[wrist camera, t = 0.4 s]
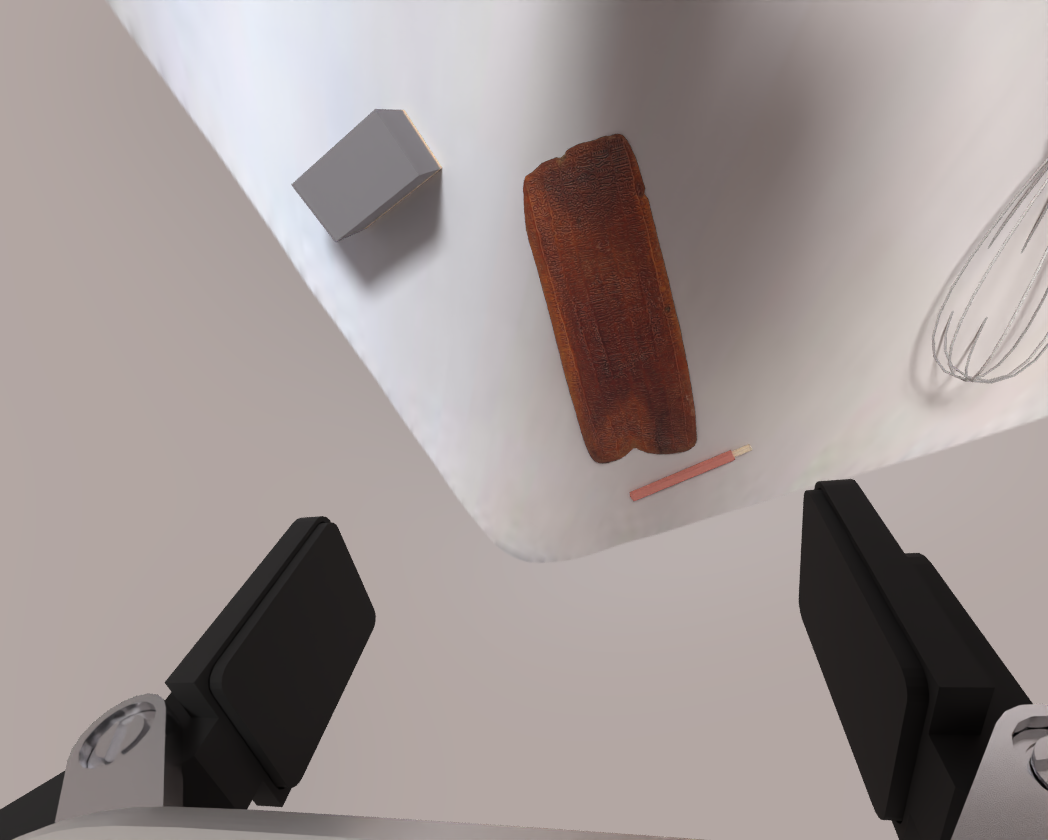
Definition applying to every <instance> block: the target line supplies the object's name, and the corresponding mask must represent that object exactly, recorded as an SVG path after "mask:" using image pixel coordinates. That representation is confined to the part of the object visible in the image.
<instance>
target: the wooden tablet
mask: <svg viewBox="0 0 1048 840" xmlns="http://www.w3.org/2000/svg"><path fill="white" fill-rule="evenodd" d="M644 191H645V187H644V184H643V181H642V177H641V174H640V170H639V167H638V164H637V161H636V158H635V156H634V153H633V151H632V149H631V147H630V145H629V143H628V141H627V140H626V139H625V137H624V136H622V135H620V134H615V135H612V136H604V137H601V138H599V139H597V140H594V141H590V142H585V143H581V144H578V145H576V146H574V147H572V148H570V149H568V150H567V151H566V153H565V155H563V156H562V157H561V158H557V157H556V158H554V159H551V160H548V161H546V162H544V163H541V164H540V165H539V166H538V167H537V168H536V169H535V170H534V171H533V172H532V173H530V174H528V175H527V176H526V177H525V180H524V186H523V193H524V213H525V223H526V231H527V235H528V239H529V243H530V246H531V249H532V252H533V256H534V260H535V263H536V266H537V269H538V273H539V277H540V281H541V284H542V288H543V292H544V295H545V299H546V302H547V306H548V310H549V314H550V317H551V321H552V325H553V330H554V334H555V338H556V341H557V345H558V349H559V353H560V356H561V361H562V364H563V369H564V373H565V376H566V380H567V383H568V386H569V390H570V394H571V398H572V400H573V404H574V407H575V411H576V414H577V418H578V421H579V425H580V428H581V433H582V435H583V438H584V441H585V444H586V447H587V449H588V451H589V453H590V455H591V457H592V459H593V460H595V461H596V462H598V463H609V462H611V461H616V460H618V459H621V458H622V457H624V456H626V455H627V454H628V453H629V452H630V451H631V450H632V449H633V448H637V449H639V450H642V451H644V452H647V453H654V454H673V453H678V452H684V451H687V450H689V449H691V447H693V446H695V443H696V440H697V434H696V420H695V409H694V402H693V395H692V388H691V383H690V377H689V371H688V365H687V361H686V356H685V351H684V346H683V342H682V336H681V331H680V327H679V323H678V319H677V315H676V311H675V307H674V303H673V299H672V294H671V290H670V285H669V281H668V277H667V273H666V269H665V265H664V261H663V257H662V253H661V249H660V245H659V242H658V238H657V233H656V229H655V225H654V222H653V218H652V213H651V209H650V205H649V201H648V198H647V197H646V196H645V194H644Z"/></svg>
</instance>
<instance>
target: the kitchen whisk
mask: <svg viewBox="0 0 1048 840" xmlns="http://www.w3.org/2000/svg"><path fill="white" fill-rule="evenodd" d="M1047 162H1048V158H1047V159H1046V161H1045V162H1044V163H1043V164H1042V165H1041V166H1040V167H1039V169H1038V170H1037V171H1036V172H1035V173H1034V175H1033V176H1032V177H1031V178H1030V179H1029V181H1028V182H1027V183H1026V184H1025V185H1024V187H1023V188H1022V189H1021V190H1020V191H1019V193H1018V194H1017V195H1016V196H1015V197H1014V199H1013V200H1012V201H1011V202H1010V204H1009V205H1008V206H1007V208H1006V209H1005V210H1004V211H1003V213H1002V214H1001V215H1000V217H999V218H998V219H997V220H996V222H995V223H994V224H993V226H992V227H991V228H990V229H989V231H988V232H987V234H986V235H985V236H984V238H983V239H982V241H981V242H980V244H979V245H978V246H977V248H976V249H975V251H974V252H973V253H972V255H971V256H970V258H969V259H968V261H967V262H966V264H965V266H964V267H963V269H962V270H961V272H960V274H959V275H958V277H957V279H956V280H955V282H954V283H953V285H952V287H951V288H950V290H949V293H948V295H947V297H946V299H945V301H944V303H943V305H942V307H941V309H940V311H939V314H938V317H937V320H936V324H935V328H934V331H933V335H932V347H933V357H934V359H935V360H936V362H937V363H938V364H939V366H940V367H941V369H942V370H943V371H944V372H945V373H948V374H950V375H952V376H954V377H956V378H959V379H961V380H963V381H966V382H980V383H994V382H998V381H1001V380H1004V379H1007V378H1011V377H1014V376H1016V375H1017V374H1019V373H1020V372H1022V371H1023V370H1024V369H1026V368H1027V367H1028V366H1030V365H1031V364H1033V363H1034V362H1035V361H1036V360H1037V359H1038V358H1039V357H1040V356H1041V354H1042V353H1043V352H1044V351H1045V350H1046V348H1047V347H1048V344H1047V345H1046V346H1045V347H1044V348H1043V350H1042V351H1041V352H1040V353H1039V355H1038V356H1037V357H1036V358H1035V359H1034V360H1033V361H1032V362H1030V363H1029V364H1028V365H1026V366H1025V367H1024V368H1022V369H1021V370H1019V371H1018V372H1017V373H1015V374H1014V375H1011V374H1013V373H1014V372H1015V371H1017V370H1018V369H1019V368H1021V367H1022V366H1023V365H1025V364H1026V363H1027V362H1029V360H1030V359H1031V358H1032V357H1033V355H1034V354H1035V353H1036V352H1037V351H1038V349H1039V348H1040V347H1041V346H1042V344H1043V343H1044V342H1045V341H1046V339H1047V338H1048V333H1047V334H1046V336H1045V338H1044V339H1043V340H1042V342H1041V343H1040V344H1039V345H1038V347H1037V348H1036V349H1035V350H1034V352H1033V353H1032V354H1031V355H1030V357H1029V358H1028V359H1027V360H1026V361H1025V362H1024V363H1022V364H1021V365H1020V366H1018V367H1017V368H1016V369H1014V370H1013V371H1012V372H1011V373H1009V374H1008V375H1004V376H1001V377H997V378H994V379H990V380H986V379H980V378H979V377H983V376H985V375H986V374H988V373H989V372H991V371H992V370H994V369H995V368H997V367H998V366H999V365H1000V364H1001V363H1002V362H1003V361H1004V360H1005V359H1006V358H1007V357H1008V355H1009V354H1010V353H1011V352H1012V351H1013V350H1014V349H1015V347H1016V346H1017V344H1018V343H1019V342H1020V340H1021V339H1022V337H1023V336H1024V334H1025V333H1026V331H1027V330H1028V328H1029V327H1030V325H1031V323H1032V321H1033V320H1034V318H1035V316H1036V314H1037V312H1038V311H1039V309H1040V307H1041V305H1042V303H1043V302H1044V299H1045V297H1046V295H1047V293H1048V288H1047V290H1046V292H1045V294H1044V296H1043V298H1042V300H1041V302H1040V304H1039V306H1038V307H1037V309H1036V311H1035V313H1034V315H1033V316H1032V318H1031V320H1030V322H1029V324H1028V326H1027V327H1026V329H1025V330H1024V332H1023V333H1022V335H1021V336H1020V338H1019V339H1018V340H1017V342H1016V343H1015V345H1014V346H1013V348H1012V349H1011V350H1010V351H1009V352H1008V353H1007V355H1006V356H1005V357H1004V358H1003V359H1002V360H1001V361H1000V362H999V363H998V364H997V365H996V366H995V367H993V368H992V369H990V370H989V371H987V372H986V373H984V374H983V375H980V376H978V375H979V374H980V373H981V372H982V371H983V369H984V368H985V366H986V365H987V364H988V362H989V361H990V359H991V358H992V357H993V355H994V353H995V351H996V350H997V348H998V346H999V345H1000V343H1001V341H1002V340H1003V338H1004V336H1005V335H1006V333H1007V331H1008V329H1009V327H1010V325H1011V324H1012V322H1013V320H1014V318H1015V316H1016V314H1017V312H1018V311H1019V309H1020V307H1021V305H1022V303H1023V301H1024V299H1025V297H1026V295H1027V293H1028V291H1029V289H1030V287H1031V285H1032V283H1033V281H1034V279H1035V277H1036V275H1037V273H1038V271H1039V269H1040V267H1041V265H1042V263H1043V261H1044V259H1045V257H1046V255H1047V253H1048V247H1047V249H1046V251H1045V253H1044V255H1043V257H1042V259H1041V261H1040V263H1039V265H1038V267H1037V270H1036V272H1035V274H1034V276H1033V278H1032V280H1031V282H1030V284H1029V285H1028V287H1027V289H1026V291H1025V293H1024V295H1023V297H1022V299H1021V301H1020V303H1019V305H1018V307H1017V309H1016V311H1015V313H1014V315H1013V316H1012V318H1011V320H1010V322H1009V324H1008V326H1007V328H1006V330H1005V331H1004V333H1003V335H1002V337H1001V338H1000V340H999V342H998V343H997V345H996V347H995V348H994V350H993V352H992V354H991V355H990V357H989V358H988V360H987V361H986V362H985V364H984V365H983V367H982V368H981V370H980V371H979V372H978V373H977V374H976V375H975V376H974V377H969V376H968V372H967V368H968V364H969V361H970V357H971V354H972V351H973V349H974V346H975V344H976V341H977V339H978V337H979V334H980V332H981V330H982V328H983V326H984V324H985V322H986V320H987V317H986V318H985V320H984V321H983V323H982V325H981V327H980V329H979V332H978V334H977V336H976V338H975V341H974V343H973V346H972V348H971V351H970V353H969V356H968V360H967V363H966V367H965V374H964V373H963V372H961V371H960V370H958V369H957V368H956V367H954V366H953V365H952V363H951V354H952V347H953V344H954V341H955V339H956V336H957V333H958V330H959V328H960V325H961V323H962V321H963V319H964V317H965V315H966V313H967V311H968V309H969V307H970V305H971V303H972V301H973V299H974V297H975V295H976V293H977V291H978V290H979V288H980V286H981V284H982V283H983V281H984V279H985V277H986V276H987V274H988V272H989V271H990V269H991V267H992V265H993V264H994V262H995V261H996V259H997V257H998V256H999V254H1000V253H1001V251H1002V250H1003V248H1004V246H1005V245H1006V243H1007V242H1008V240H1009V239H1010V237H1011V235H1012V234H1013V232H1014V231H1015V229H1016V228H1017V226H1018V225H1019V223H1020V222H1021V220H1022V219H1023V217H1024V216H1025V214H1026V213H1027V212H1028V210H1029V209H1030V207H1031V206H1032V204H1033V203H1034V201H1035V200H1036V198H1037V197H1038V195H1039V194H1040V193H1041V191H1042V190H1043V188H1044V187H1045V185H1046V184H1047V183H1048V178H1047V180H1046V181H1045V183H1044V184H1043V185H1042V187H1041V188H1040V190H1039V191H1038V193H1037V194H1036V195H1035V197H1034V198H1033V200H1032V201H1031V203H1030V204H1029V206H1028V207H1027V209H1026V210H1025V212H1024V213H1023V215H1022V216H1021V218H1020V219H1019V221H1018V222H1017V223H1016V225H1015V226H1014V228H1013V229H1012V231H1011V232H1010V234H1009V236H1008V237H1007V239H1006V240H1005V242H1004V243H1003V245H1002V247H1001V248H1000V250H999V251H998V253H997V255H996V256H995V258H994V259H993V261H992V262H991V264H990V266H989V267H988V269H987V271H986V273H985V274H984V276H983V278H982V280H981V281H980V283H979V285H978V287H977V288H976V290H975V292H974V293H973V295H972V297H971V299H970V301H969V303H968V305H967V307H966V309H965V311H964V313H963V315H962V317H961V319H960V321H959V324H958V326H957V329H956V332H955V334H954V337H953V340H952V343H951V345H950V352H949V356H948V353H947V351H946V344H947V330H948V327H949V324H950V321H951V318H952V315H953V311H952V313H951V315H950V317H949V320H948V323H947V327H946V330H945V340H944V352H945V354H946V357H947V359H948V366H949V368H950V371H951V373H950V372H948V371H946V370H945V369H944V368H943V366H942V365H941V363H940V362H939V361H938V359H937V358H936V356H935V343H934V336H935V332H936V329H937V325H938V321H939V318H940V314H941V312H942V310H943V308H944V306H945V304H946V302H947V300H948V298H949V296H950V293H951V291H952V289H953V288H954V286H955V284H956V283H957V281H958V279H959V278H960V276H961V275H962V273H963V271H964V270H965V268H966V266H967V265H968V263H969V262H970V260H971V259H972V257H973V256H974V254H975V253H976V252H977V250H978V249H979V247H980V246H981V245H982V243H983V242H984V240H985V239H986V238H987V236H988V235H989V233H990V232H991V230H992V229H993V228H994V227H995V225H996V224H997V223H998V221H999V220H1000V219H1001V218H1002V216H1003V215H1004V214H1005V213H1006V211H1007V210H1008V209H1009V207H1010V206H1011V205H1012V204H1013V202H1014V201H1015V200H1016V199H1017V197H1018V196H1019V195H1020V194H1021V193H1022V191H1023V190H1024V189H1025V188H1026V187H1027V185H1028V184H1029V183H1030V182H1031V181H1032V179H1033V178H1034V177H1035V176H1036V175H1037V173H1038V172H1039V171H1040V170H1041V169H1042V167H1043V166H1044V165H1045V164H1046V163H1047ZM1047 169H1048V166H1047V167H1046V168H1045V169H1044V171H1043V172H1042V173H1041V175H1040V176H1039V177H1038V178H1037V180H1036V181H1035V182H1034V184H1033V185H1032V186H1031V187H1030V189H1029V190H1028V191H1027V193H1026V194H1025V195H1024V196H1023V198H1022V199H1021V200H1020V202H1019V203H1018V204H1017V206H1016V207H1015V209H1014V210H1013V211H1012V213H1011V214H1010V215H1009V217H1008V218H1007V219H1006V221H1005V222H1004V224H1003V225H1002V226H1001V228H1000V229H999V230H998V232H997V233H996V235H995V237H994V238H993V240H992V241H991V243H990V245H989V247H990V246H991V245H992V243H993V242H994V240H995V239H996V237H997V236H998V234H999V233H1000V231H1001V230H1002V229H1003V227H1004V226H1005V224H1006V223H1007V222H1008V220H1009V219H1010V218H1011V216H1012V215H1013V214H1014V212H1015V211H1016V210H1017V208H1018V207H1019V205H1020V204H1021V203H1022V201H1023V200H1024V199H1025V197H1026V196H1027V195H1028V194H1029V192H1030V191H1031V190H1032V189H1033V187H1034V186H1035V185H1036V183H1037V182H1038V181H1039V180H1040V178H1041V177H1042V176H1043V174H1044V173H1045V172H1046V171H1047ZM1047 209H1048V204H1047V206H1046V207H1045V209H1044V211H1043V213H1042V214H1041V216H1040V218H1039V220H1038V221H1037V223H1036V225H1035V227H1034V228H1033V230H1032V232H1031V234H1030V235H1029V237H1028V239H1027V241H1026V243H1025V245H1024V247H1023V249H1022V252H1023V250H1024V249H1025V247H1026V245H1027V243H1028V242H1029V240H1030V238H1031V236H1032V235H1033V233H1034V231H1035V229H1036V228H1037V226H1038V224H1039V222H1040V221H1041V219H1042V217H1043V216H1044V214H1045V212H1046V210H1047ZM989 247H988V248H989ZM1022 252H1021V253H1022ZM952 368H954V369H955V370H956V371H958V372H959V373H961V374H962V375H964V376H965V377H966V378H963V377H960V376H957V375H955V374H954V372H953V369H952ZM1010 375H1011V376H1010ZM974 379H976V380H974ZM997 379H998V380H997ZM977 380H981V381H977ZM993 380H995V381H993Z"/></svg>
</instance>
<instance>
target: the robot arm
mask: <svg viewBox="0 0 1048 840" xmlns="http://www.w3.org/2000/svg"><path fill="white" fill-rule="evenodd" d="M802 524H803V525H802V544H801V563H800V564H801V565H800V584H799V607H800V613H801V616H802V620H803V623H804V625H805V628H806V631H807V633H808V636H809V638H810V641H811V644H812V646H813V649H814V652H815V654H816V657H817V660H818V662H819V665H820V668H821V670H822V673H823V675H824V678H825V681H826V683H827V686H828V689H829V691H830V694H831V696H832V699H833V702H834V705H835V707H836V709H837V712H838V715H839V718H840V720H841V723H842V725H843V728H844V731H845V734H846V736H847V739H848V741H849V744H850V746H851V749H852V752H853V755H854V757H855V760H856V763H857V765H858V768H859V771H860V773H861V775H862V778H863V781H864V783H865V786H866V789H867V792H868V794H869V797H870V800H871V802H872V805H873V807H874V809H875V812H876V814H877V815H878V817H879V818H880V819H881V820H892V823H893V825H894V827H895V830H896V833H897V835H898V838H899V840H1048V705H1045V704H1033V703H1032V702H1031V701H1030V699H1029V698H1028V697H1027V695H1026V694H1025V692H1024V691H1023V690H1022V688H1021V687H1020V685H1019V684H1018V683H1017V681H1016V680H1015V678H1014V677H1013V676H1012V674H1011V673H1010V672H1009V670H1008V669H1007V667H1006V666H1005V665H1004V663H1003V662H1002V661H1001V659H1000V658H999V657H998V655H997V654H996V652H995V651H994V649H993V648H992V647H991V645H990V644H989V642H988V641H987V640H986V638H985V637H984V635H983V634H982V633H981V631H980V630H979V629H978V627H977V626H976V624H975V623H974V622H973V620H972V619H971V617H970V616H969V615H968V613H967V612H966V610H965V609H964V608H963V606H962V605H961V604H960V602H959V601H958V600H957V598H956V597H955V595H954V594H953V592H952V591H951V590H950V589H949V587H948V586H947V584H946V583H945V581H944V580H943V579H942V577H941V576H940V574H939V573H938V572H937V570H936V569H935V567H934V566H933V565H932V563H931V562H930V561H929V560H928V559H927V558H926V557H925V556H924V555H922V554H920V553H907V554H905V553H904V552H903V550H902V549H901V548H900V546H899V544H898V543H897V541H896V540H895V539H894V537H893V536H892V534H891V533H890V531H889V530H888V528H887V527H886V525H885V524H884V522H883V521H882V519H881V518H880V516H879V515H878V513H877V512H876V510H875V509H874V507H873V506H872V504H871V503H870V502H869V500H868V499H867V497H866V496H865V494H864V493H863V491H862V490H861V488H860V487H859V485H858V484H857V483H856V481H855V480H852V479H845V480H831V481H818V482H817V483H816V485H815V489H814V490H806V491H805V493H804V502H803V523H802ZM375 617H376V616H375V611H374V608H373V606H372V604H371V601H370V599H369V597H368V594H367V592H366V590H365V588H364V585H363V583H362V581H361V578H360V576H359V574H358V572H357V569H356V567H355V565H354V563H353V560H352V558H351V556H350V554H349V552H348V549H347V547H346V545H345V543H344V540H343V538H342V536H341V533H340V531H339V529H338V527H337V525H336V524H334V523H331V522H330V520H329V519H328V518H327V517H323V516H320V517H307V518H299V519H297V520H296V521H295V522H294V523H293V524H292V525H291V526H290V527H289V529H288V530H287V531H286V532H285V534H284V535H283V536H282V537H281V539H280V540H279V541H278V543H277V544H276V545H275V546H274V547H273V549H272V550H271V551H270V552H269V554H268V555H267V556H266V557H265V559H264V560H263V561H262V563H261V564H260V565H259V566H258V567H257V569H256V570H255V571H254V572H253V573H252V575H251V576H250V577H249V579H248V580H247V581H246V582H245V583H244V585H243V586H242V587H241V588H240V590H239V591H238V592H237V593H236V595H235V596H234V597H233V598H232V600H231V601H230V602H229V603H228V605H227V606H226V607H225V608H224V609H223V611H222V612H221V613H220V614H219V616H218V617H217V618H216V619H215V621H214V622H213V623H212V624H211V626H210V627H209V628H208V629H207V631H206V632H205V633H204V634H203V636H202V637H201V638H200V639H199V641H198V642H197V643H196V644H195V645H194V647H193V648H192V649H191V651H190V652H189V653H188V654H187V655H186V657H185V658H184V659H183V660H182V662H181V663H180V664H179V666H178V667H177V668H176V669H175V670H174V672H173V673H172V674H171V675H170V677H169V678H168V679H167V680H166V682H165V684H166V685H167V686H168V687H169V689H170V690H171V694H170V695H169V696H168V697H167V699H166V700H164V699H163V698H161V697H160V696H159V695H156V694H144V695H139V696H135V697H133V698H130V699H128V700H126V701H123V702H121V703H120V704H118V705H116V706H115V707H113V708H111V709H110V710H108V711H107V712H106V713H104V714H103V715H102V716H101V717H99V718H98V719H97V720H96V721H95V722H93V723H92V724H91V725H90V727H89V728H88V729H87V730H86V731H85V732H84V733H83V734H82V735H81V736H80V738H79V739H78V741H77V743H76V744H75V745H74V747H73V748H72V750H71V753H70V756H69V758H68V761H67V766H66V770H65V771H64V772H62V773H60V774H59V775H57V776H55V777H54V778H52V779H50V780H49V781H47V782H45V783H44V784H42V785H41V786H39V787H37V788H35V789H34V790H32V791H30V792H29V793H27V794H25V795H24V796H22V797H20V798H19V799H17V800H16V801H14V802H12V803H10V804H9V805H7V806H5V807H4V808H2V809H0V840H701V839H688V838H674V837H660V836H659V837H658V836H646V835H632V834H618V833H604V832H589V831H576V830H562V829H548V828H533V827H517V826H502V825H487V824H472V823H457V822H441V821H427V820H411V819H396V818H379V817H364V816H347V815H346V816H345V815H331V814H330V815H329V814H314V813H297V812H279V811H263V810H247V808H248V806H249V805H250V803H251V801H252V800H253V801H254V802H255V804H256V805H258V806H275V807H283V805H284V803H285V801H286V799H287V796H288V794H289V792H290V790H291V788H293V787H295V786H296V785H297V784H298V783H299V782H300V780H301V779H302V777H303V775H304V773H305V771H306V769H307V766H308V765H309V762H310V760H311V758H312V756H313V754H314V752H315V750H316V748H317V745H318V744H319V741H320V739H321V737H322V735H323V733H324V731H325V729H326V727H327V725H328V723H329V720H330V719H331V716H332V714H333V712H334V710H335V708H336V706H337V704H338V702H339V699H340V698H341V695H342V693H343V691H344V689H345V687H346V685H347V683H348V681H349V679H350V677H351V675H352V672H353V670H354V668H355V666H356V664H357V662H358V660H359V658H360V656H361V654H362V652H363V649H364V647H365V645H366V643H367V641H368V639H369V637H370V635H371V633H372V631H373V628H374V625H375Z"/></svg>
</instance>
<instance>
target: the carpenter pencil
mask: <svg viewBox="0 0 1048 840" xmlns="http://www.w3.org/2000/svg"><path fill="white" fill-rule="evenodd" d="M751 450H752V449H751V447H750V445H749V444H748V445H746V446H744V447H741V448H739V449H736V450H734V451H732V452H731V450H730V451H727V452H725V453H723V454H720V455H718V456H715V457H713V458H711V459H708V460H706V461H704V462H701V463H699V464H696V465H694V466H692V467H689V468H687V469H684V470H682V471H680V472H677V473H675V474H673V475H670V476H668V477H665V478H663V479H661V480H658V481H656V482H653V483H651V484H649V485H646V486H644V487H642V488H639V489H637V490H634V491H632V492H630V497H631V498H632V500H633V501H636V500H638V499H641V498H643V497H645V496H648V495H650V494H653V493H655V492H658V491H660V490H662V489H665V488H667V487H670V486H672V485H675V484H677V483H679V482H682V481H684V480H687V479H689V478H692V477H694V476H697V475H699V474H701V473H704V472H706V471H709V470H711V469H714V468H716V467H718V466H721V465H723V464H726V463H728V462H731V461H733V460H735V457H736V456H739V455H741V454H744V453H746V452H748V451H751Z"/></svg>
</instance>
